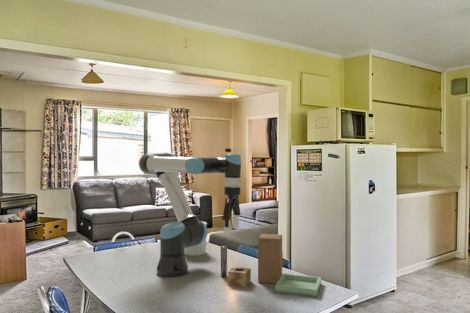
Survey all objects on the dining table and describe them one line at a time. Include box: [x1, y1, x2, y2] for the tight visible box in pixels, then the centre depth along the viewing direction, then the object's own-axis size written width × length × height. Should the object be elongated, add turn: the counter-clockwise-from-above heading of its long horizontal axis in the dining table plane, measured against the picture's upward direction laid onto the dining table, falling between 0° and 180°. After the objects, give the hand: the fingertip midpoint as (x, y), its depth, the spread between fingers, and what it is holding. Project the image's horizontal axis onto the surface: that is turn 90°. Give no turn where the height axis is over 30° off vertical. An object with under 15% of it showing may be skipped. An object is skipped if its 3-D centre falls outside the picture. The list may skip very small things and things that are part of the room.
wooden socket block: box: [227, 266, 252, 288], centre depth 169 cm, size 8×8×6 cm
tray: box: [274, 273, 322, 298], centre depth 163 cm, size 17×17×3 cm
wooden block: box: [257, 233, 283, 285], centre depth 174 cm, size 10×10×20 cm
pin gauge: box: [220, 245, 228, 278], centre depth 179 cm, size 3×3×14 cm
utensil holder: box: [184, 220, 208, 257], centre depth 223 cm, size 15×15×18 cm
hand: (231, 231), depth 180 cm, fingers open, 13 cm apart
